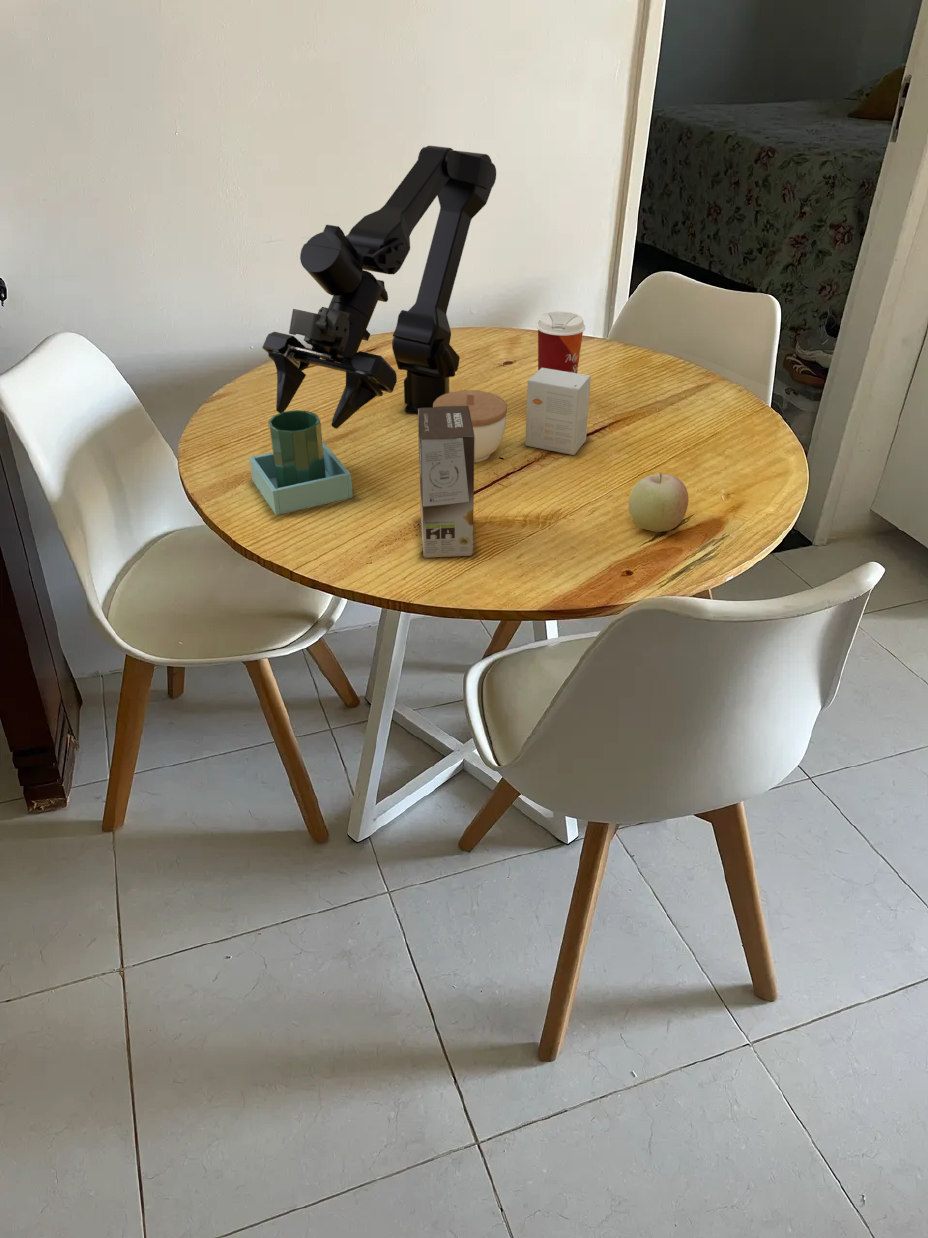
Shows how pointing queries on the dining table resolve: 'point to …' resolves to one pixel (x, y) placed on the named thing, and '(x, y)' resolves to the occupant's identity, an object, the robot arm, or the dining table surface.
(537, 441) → the small box
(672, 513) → the fruit
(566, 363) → the paper cup
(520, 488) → the dining table surface
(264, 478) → the bin
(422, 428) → the coffee box
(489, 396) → the trinket box
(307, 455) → the cup
